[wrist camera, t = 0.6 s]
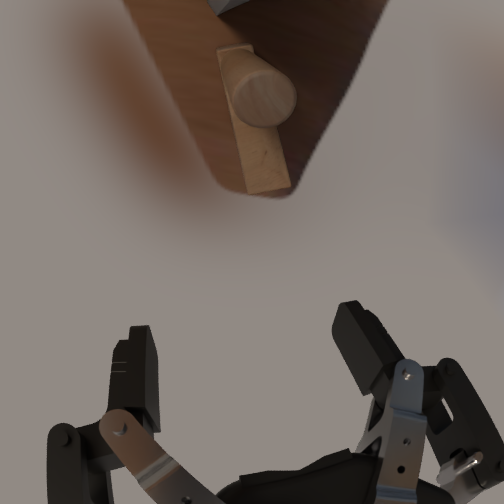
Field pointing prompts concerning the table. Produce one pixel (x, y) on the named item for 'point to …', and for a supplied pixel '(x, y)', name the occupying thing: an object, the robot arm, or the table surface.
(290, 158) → the table surface
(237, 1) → the frame
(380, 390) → the robot arm
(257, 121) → the wooden block
